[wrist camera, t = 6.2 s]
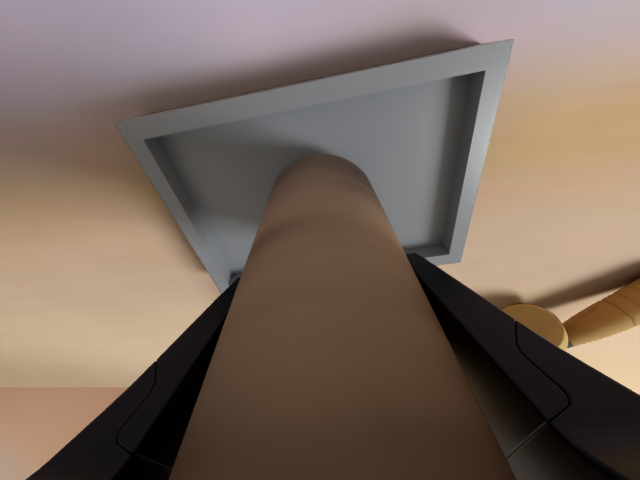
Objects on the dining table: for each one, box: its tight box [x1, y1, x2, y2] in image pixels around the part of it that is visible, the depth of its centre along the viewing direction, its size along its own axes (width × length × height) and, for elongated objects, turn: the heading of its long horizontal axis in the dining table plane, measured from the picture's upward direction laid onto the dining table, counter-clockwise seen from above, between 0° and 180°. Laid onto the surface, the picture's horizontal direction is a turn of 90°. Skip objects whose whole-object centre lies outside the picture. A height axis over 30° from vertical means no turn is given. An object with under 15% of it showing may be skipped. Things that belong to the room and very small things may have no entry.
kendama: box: [501, 278, 640, 352], centre depth 20 cm, size 8×6×18 cm
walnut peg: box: [169, 154, 516, 480], centre depth 8 cm, size 6×6×11 cm
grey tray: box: [114, 39, 514, 294], centre depth 13 cm, size 11×16×2 cm
